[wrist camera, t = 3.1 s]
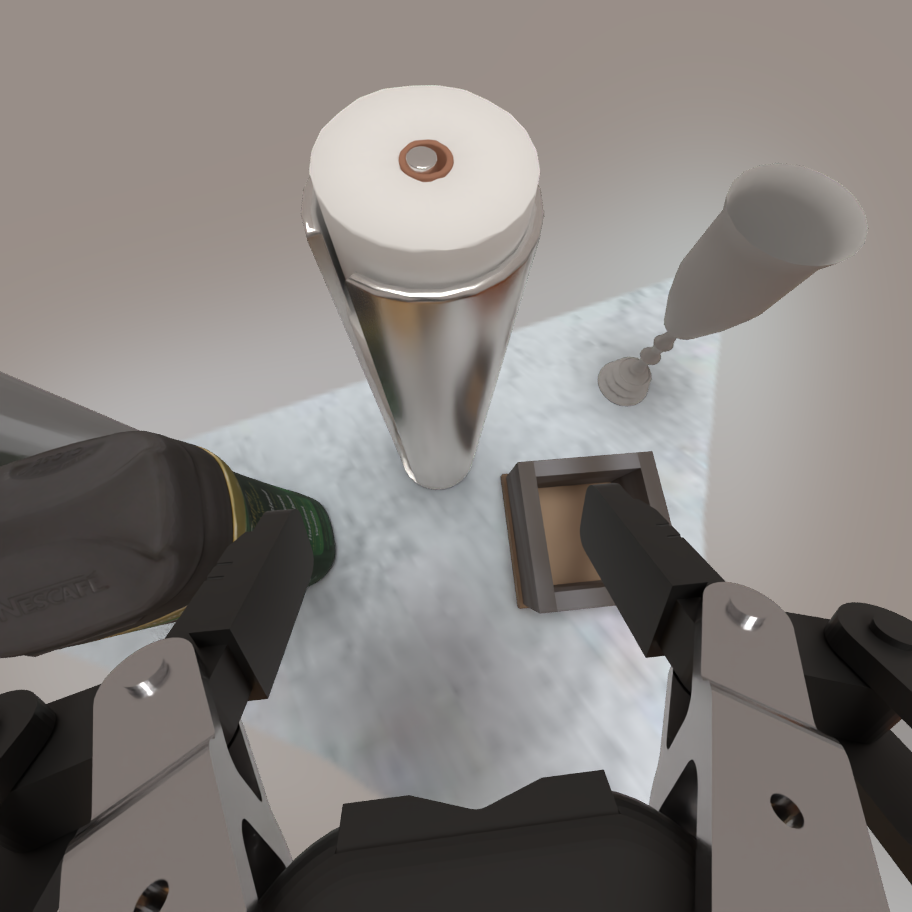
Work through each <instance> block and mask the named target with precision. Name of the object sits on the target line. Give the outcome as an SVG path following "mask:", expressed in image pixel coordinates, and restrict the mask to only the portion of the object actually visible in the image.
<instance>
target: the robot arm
mask: <svg viewBox="0 0 912 912" xmlns="http://www.w3.org/2000/svg"><path fill="white" fill-rule="evenodd" d="M125 431H139V430H137V429H135V428H132V427H130V426H128V425H125V424H123V423H120V422H118V421H116V420H113V419H112V418H109V417H107V416H104V415H102V414H100V413H97V412H95V411H93V410H90V409H88V408H86V407H83V406H81V405H79V404H76V403H74V402H71V401H69V400H67V399H64V398H62V397H60V396H57V395H55V394H53V393H50V392H48V391H45V390H43V389H41V388H38V387H36V386H34V385H31V384H29V383H26V382H24V381H21V380H19V379H17V378H15V377H12V376H10V375H8V374H5V373H3V372H1V371H0V467H1V466H3V465H6V464H9V463H11V462H14V461H17V460H20V459H24V458H27V457H30V456H33V455H36V454H39V453H42V452H45V451H48V450H52V449H55V448H59V447H62V446H65V445H69V444H72V443H76V442H79V441H84V440H88V439H92V438H97V437H102V436H106V435H111V434H114V433H119V432H125ZM580 539H581V543H582V546H583V548H584V550H585V552H586V554H587V556H588V557H589V559H590V561H591V563H592V564H593V566H594V568H595V570H596V571H597V573H598V575H599V577H600V578H601V580H602V582H603V584H604V585H605V587H606V589H607V591H608V592H609V594H610V596H611V598H612V599H613V601H614V603H615V605H616V606H617V608H618V610H619V612H620V613H621V615H622V617H623V619H624V620H625V622H626V624H627V626H628V627H629V629H630V631H631V633H632V634H633V636H634V638H635V640H636V641H637V643H638V645H639V647H640V648H641V650H642V652H643V654H644V655H645V657H646V658H648V657H657V656H665V657H666V658H667V660H668V661H669V663H670V665H671V667H670V670H669V673H668V680H667V690H666V699H665V709H664V719H663V728H662V738H661V748H660V756H659V761H658V766H657V770H656V773H655V777H654V781H653V785H652V790H651V795H650V801H649V805H647V804H645V803H643V802H641V801H639V800H637V799H635V798H632V797H629V796H627V795H624V794H621V793H618V792H614V791H611V788H610V786H609V783H608V780H607V777H606V775H605V772H604V770H598V771H590V772H582V773H575V774H567V775H560V776H552V777H544V778H541V779H539V780H537V781H535V782H533V783H531V784H529V785H527V786H525V787H523V788H521V789H519V790H518V791H516V792H514V793H512V794H510V795H508V796H506V797H504V798H502V799H500V800H498V801H497V802H495V803H493V804H491V805H489V806H487V807H485V808H482V809H477V810H474V809H468V808H464V807H459V806H455V805H450V804H446V803H441V802H437V801H432V800H428V799H423V798H419V797H415V796H410V795H408V796H400V797H392V798H385V799H377V800H369V801H362V802H354V803H347V804H343V807H342V814H341V821H340V827H338V828H336V829H334V830H333V831H331V832H329V833H328V834H326V835H325V836H323V837H322V838H320V839H319V840H317V841H316V842H315V843H313V844H312V845H311V846H309V847H308V848H307V849H306V850H305V851H304V852H302V853H301V854H300V855H299V856H298V857H297V858H295V860H294V861H293V860H292V857H291V854H290V851H289V848H288V846H287V843H286V841H285V838H284V836H283V834H282V831H281V829H280V827H279V825H278V823H277V821H276V819H275V817H274V815H273V812H272V810H271V807H270V805H269V802H268V799H267V796H266V793H265V789H264V786H263V783H262V780H261V777H260V774H259V771H258V768H257V765H256V762H255V759H254V755H253V753H252V750H251V747H250V743H249V740H248V737H247V734H246V731H245V728H244V725H243V722H242V720H241V716H242V714H243V711H244V709H245V706H246V704H247V701H252V700H261V699H268V697H269V695H270V692H271V689H272V686H273V683H274V680H275V677H276V675H277V672H278V669H279V666H280V663H281V660H282V658H283V655H284V652H285V649H286V646H287V643H288V641H289V638H290V635H291V632H292V629H293V626H294V623H295V621H296V618H297V615H298V612H299V609H300V606H301V604H302V601H303V598H304V595H305V592H306V589H307V587H308V584H309V581H310V578H311V575H312V571H313V564H314V557H313V551H312V547H311V544H310V541H309V538H308V535H307V532H306V529H305V525H304V522H303V519H302V516H301V513H300V512H299V510H298V509H286V510H274V511H266V512H265V513H264V514H263V515H262V517H261V519H260V520H259V522H258V523H257V525H256V526H255V528H254V530H253V531H250V532H245V533H244V534H242V535H241V536H240V537H239V538H238V539H236V540H235V541H234V542H233V543H232V544H230V545H229V546H228V547H227V548H226V550H225V551H224V553H223V554H222V556H221V557H220V559H219V560H218V562H217V566H215V567H213V569H212V570H211V572H210V573H209V575H208V576H207V581H204V582H203V584H202V585H201V586H200V588H199V589H198V591H197V592H196V594H195V595H194V597H193V598H192V600H191V601H190V603H189V604H188V605H187V607H186V608H185V610H184V611H183V613H182V614H181V616H180V617H179V619H178V620H177V622H176V623H175V624H174V626H173V627H172V629H171V630H170V632H169V633H168V635H167V636H166V638H165V639H163V640H159V641H156V642H154V643H151V644H149V645H147V646H145V647H143V648H141V649H139V650H138V651H136V652H134V653H133V654H132V655H130V656H129V657H127V658H126V659H125V660H123V661H122V662H121V663H120V664H119V665H118V666H117V667H116V668H114V669H113V670H112V671H111V673H110V674H109V675H108V676H107V677H106V678H105V680H104V681H103V683H102V684H100V685H97V686H94V687H92V688H89V689H86V690H84V691H81V692H78V693H75V694H73V695H70V696H67V697H65V698H62V699H59V700H56V701H54V702H51V703H48V704H45V703H44V702H43V701H42V700H41V699H40V698H39V697H38V696H36V695H35V694H34V693H33V692H31V691H28V690H15V691H10V692H6V693H3V694H0V912H57V911H58V909H59V912H890V910H889V907H888V902H887V899H886V895H885V892H884V888H883V884H882V880H881V876H880V873H879V869H878V865H877V862H876V858H875V854H874V851H873V847H872V843H871V840H870V836H869V832H868V828H867V826H868V827H869V829H870V830H871V831H872V833H873V834H874V835H875V837H876V838H877V839H878V840H879V842H880V843H881V845H882V846H883V847H884V848H885V850H886V851H887V853H888V854H889V855H890V857H891V858H892V859H893V861H894V862H895V863H896V864H897V866H898V867H899V869H900V870H901V871H902V873H903V874H904V875H905V877H906V878H907V879H908V881H909V882H910V883H911V884H912V752H911V751H910V750H909V749H908V748H907V747H906V746H905V745H904V744H903V743H902V741H901V740H900V739H899V738H897V736H896V735H895V734H894V733H893V732H892V731H891V730H890V729H891V728H892V727H893V726H894V725H896V723H898V722H899V721H900V720H901V719H903V720H904V721H905V722H906V723H907V724H908V725H909V726H910V727H911V728H912V621H911V620H909V619H907V618H905V617H903V616H901V615H899V614H897V613H895V612H892V611H889V610H887V609H884V608H881V607H878V606H874V605H870V604H866V603H855V602H854V603H853V602H852V603H846V604H843V605H841V606H840V607H839V608H838V610H837V611H836V612H835V614H834V615H833V617H832V618H831V619H823V618H818V617H812V616H806V615H800V614H795V613H789V612H784V611H783V610H782V609H781V608H780V607H779V606H778V605H777V604H776V603H775V602H774V601H772V600H771V599H769V598H768V597H766V596H765V595H763V594H761V593H760V592H758V591H756V590H754V589H751V588H749V587H746V586H743V585H740V584H736V583H731V582H725V581H724V580H723V579H722V577H720V575H719V574H718V573H717V572H716V571H715V570H713V568H712V567H711V566H710V565H709V564H708V563H707V562H706V561H705V560H704V559H703V558H702V557H701V556H700V555H699V553H698V552H697V551H696V550H695V549H694V548H693V547H692V546H691V545H690V544H689V543H688V542H687V541H686V540H685V539H684V538H681V537H680V534H679V533H678V532H677V531H676V530H675V528H674V527H673V526H670V525H669V522H668V521H667V520H666V519H665V518H664V517H663V516H662V515H661V514H660V513H659V512H658V511H657V510H656V509H654V508H653V507H651V506H649V505H648V504H646V503H644V502H643V501H641V500H639V499H633V498H632V497H631V496H630V495H629V494H628V493H627V492H626V491H625V490H624V488H623V487H622V486H621V485H620V484H618V483H609V484H597V485H589V486H588V488H587V490H586V494H585V500H584V506H583V512H582V518H581V524H580Z"/></svg>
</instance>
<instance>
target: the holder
mask: <svg viewBox="0 0 912 912" xmlns="http://www.w3.org/2000/svg"><path fill="white" fill-rule="evenodd" d="M609 483H618V484H620V485H621V486H622V487H623V488H624V490H625V491H626V492H627V493H628V494H629V495H630V496H631V497H632V498H633V499H639V500H641V501H643V502H644V503H646V504H648V505H649V506H651V507H653V508H654V509H656V510H657V511H658V512H659V513H660V514H661V515H662V516H663V517H664V518H665V519H666V520H667V521H668V522H669V525H670V526H672V525H671V521H670V517H669V514H668V510H667V506H666V502H665V498H664V494H663V491H662V487H661V483H660V479H659V475H658V471H657V468H656V464H655V460H654V456H653V452H652V451H649V452H637V453H625V454H613V455H600V456H588V457H576V458H564V459H552V460H539V461H527V462H517V464H516V465H515V466H514V468H513V469H512V470H511V472H510V473H509V474H502V476H501V484H502V491H503V499H504V507H505V514H506V522H507V529H508V537H509V545H510V552H511V560H512V567H513V575H514V583H515V590H516V598H517V605H518V608H520V609H522V608H531V609H533V610H535V611H536V612H538V613H549V612H558V611H568V610H577V609H586V608H595V607H605V606H614V605H615V603H614V601H613V599H612V598H611V596H610V594H609V592H608V591H607V589H606V587H605V585H604V584H603V582H602V580H601V578H600V577H599V575H598V573H597V571H596V570H595V568H594V566H593V564H592V563H591V561H590V559H589V557H588V556H587V554H586V552H585V550H584V548H583V546H582V543H581V539H580V524H581V518H582V512H583V506H584V500H585V494H586V490H587V488H588V486H589V485H597V484H609Z"/></svg>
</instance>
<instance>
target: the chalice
mask: <svg viewBox="0 0 912 912" xmlns="http://www.w3.org/2000/svg"><path fill="white" fill-rule="evenodd" d="M867 231H868V225H867V221H866V216H865V212H864V210H863V209H862V207H861V206H860V204H859V202H858V201H857V200H856V198H855V196H854V195H852V194H851V193H850V192H849V191H848V190H847V189H846V188H845V187H844V186H842V185H841V184H840V183H839V182H837V181H836V180H834V179H832V178H830V177H828V176H827V175H825V174H823V173H821V172H819V171H816V170H812V169H809V168H806V167H803V166H800V165H791V164H782V163H776V164H768V165H759V166H757V167H755V168H752V169H749V170H747V171H745V172H743V173H742V174H741V175H740V176H739V177H737V178H736V179H735V180H734V181H733V182H732V184H731V187H730V189H729V191H728V193H727V196H726V200H725V204H724V208H723V210H722V212H721V213H720V214H719V215H718V216H717V218H716V219H715V220H714V222H713V223H712V224H711V225H710V227H709V228H708V229H707V230H706V232H705V233H704V234H703V235H702V237H701V238H700V239H699V240H698V242H697V243H696V244H695V245H694V247H693V248H692V249H691V250H690V252H689V253H688V254H687V255H686V257H685V258H684V259H683V261H682V262H681V264H680V266H679V268H678V270H677V273H676V275H675V278H674V281H673V284H672V286H671V289H670V292H669V295H668V300H667V306H666V312H665V318H664V325H665V328H666V330H667V332H666V333H664V334H663V335H658V336H656V337H655V339H654V345H653V347H647V348H644V349H643V350H642V351H641V353H640V357H641V358H640V359H638V358H634V357H625V358H622V359H619V360H616V361H613V362H610V363H608V364H606V365H605V366H604V367H603V368H602V369H601V371H600V373H599V375H598V385H599V388H600V390H601V392H602V393H603V395H604V396H605V397H606V398H607V399H608V400H610V401H611V402H613V403H615V404H618V405H622V406H632V405H636V404H638V403H640V402H641V401H642V400H643V399H644V398H645V397H646V395H647V392H648V388H649V385H650V382H651V372H650V369H649V367H648V365H655V364H657V363H658V362H659V361H660V359H661V355H660V354H661V353H662V352H666V351H670V350H671V349H672V348H673V343H674V341H675V340H676V338H678V339H683V340H689V339H694V338H698V337H702V336H706V335H709V334H713V333H717V332H721V331H724V330H726V329H729V328H731V327H734V326H736V325H739V324H741V323H744V322H746V321H749V320H751V319H753V318H755V317H757V316H759V315H760V314H762V313H763V312H764V311H766V310H767V309H768V308H770V307H771V306H772V305H773V304H775V303H776V302H777V301H779V300H780V299H781V298H782V297H784V296H785V295H786V294H787V293H789V292H790V291H792V290H793V289H794V288H795V287H797V286H798V285H799V284H801V283H802V282H803V281H804V280H806V279H807V278H808V277H810V276H811V275H812V274H813V273H815V272H816V271H817V270H819V269H822V268H825V267H828V266H831V265H834V264H837V263H839V262H841V261H843V260H846V259H848V258H850V257H852V256H854V255H855V254H856V252H857V251H858V250H859V249H860V248H861V247H862V246H863V245H864V243H865V239H866V235H867Z"/></svg>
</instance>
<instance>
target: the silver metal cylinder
mask: <svg viewBox="0 0 912 912" xmlns="http://www.w3.org/2000/svg"><path fill="white" fill-rule="evenodd" d="M309 173H310V177H309V178H308V180H307V183H306V185H305V187H304V189H303V198H302V207H301V217H302V221H303V225H304V229H305V233H306V237H307V241H308V243H309V246H310V248H311V251H312V253H313V255H314V257H315V260H316V262H317V265H318V267H319V269H320V271H321V274H322V276H323V279H324V281H325V283H326V286H327V288H328V290H329V293H330V295H331V297H332V300H333V302H334V304H335V307H336V309H337V311H338V314H339V316H340V318H341V321H342V323H343V325H344V328H345V330H346V332H347V335H348V337H349V339H350V342H351V344H352V346H353V349H354V351H355V353H356V355H357V358H358V360H359V363H360V365H361V367H362V370H363V372H364V374H365V377H366V379H367V381H368V384H369V386H370V388H371V391H372V393H373V395H374V398H375V400H376V402H377V405H378V407H379V409H380V412H381V414H382V416H383V419H384V421H385V423H386V426H387V428H388V430H389V433H390V435H391V437H392V440H393V442H394V444H395V447H396V449H397V451H398V454H399V456H400V458H401V461H402V463H403V465H404V468H405V470H406V471H407V473H408V475H409V476H410V478H412V479H413V480H414V481H415V482H416V483H417V484H419V485H421V486H423V487H425V488H429V489H433V490H441V489H447V488H450V487H453V486H455V485H456V484H458V483H460V482H461V481H462V480H463V479H464V478H465V477H466V476H467V474H468V472H469V471H470V469H471V467H472V463H473V460H474V457H475V453H476V450H477V447H478V443H479V440H480V437H481V433H482V430H483V427H484V423H485V420H486V416H487V413H488V410H489V406H490V403H491V400H492V396H493V393H494V390H495V386H496V383H497V380H498V376H499V373H500V370H501V366H502V363H503V360H504V356H505V353H506V350H507V346H508V343H509V340H510V336H511V333H512V330H513V326H514V323H515V319H516V316H517V313H518V309H519V306H520V303H521V299H522V296H523V293H524V289H525V286H526V283H527V279H528V276H529V272H530V269H531V266H532V263H533V259H534V256H535V253H536V249H537V246H538V243H539V239H540V233H541V229H542V224H543V218H544V210H543V202H542V195H541V190H540V187H539V185H538V182H539V177H540V167H539V161H538V155H537V151H536V149H535V147H534V145H533V143H532V141H531V139H530V137H529V135H528V133H527V131H526V130H525V129H524V128H523V127H522V126H521V125H520V124H519V123H518V122H517V121H516V119H515V118H514V117H513V116H512V115H511V114H510V113H508V112H506V111H505V110H503V109H501V108H500V107H498V106H497V105H495V104H493V103H492V102H490V101H488V100H486V99H484V98H482V97H480V96H477V95H475V94H473V93H471V92H469V91H466V90H464V89H458V88H451V87H445V86H439V85H429V86H428V85H427V86H405V87H396V88H388V89H382V90H379V91H376V92H374V93H371V94H368V95H366V96H363V97H361V98H358V99H357V100H355V101H354V102H353V103H351V104H350V105H349V106H347V107H346V108H345V109H343V110H342V111H341V112H339V113H338V114H337V115H336V116H335V117H334V118H333V119H332V120H331V121H330V122H329V123H328V124H327V125H325V126H324V127H323V128H322V130H321V132H320V134H319V136H318V138H317V140H316V142H315V144H314V147H313V149H312V151H311V160H310V168H309Z"/></svg>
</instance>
